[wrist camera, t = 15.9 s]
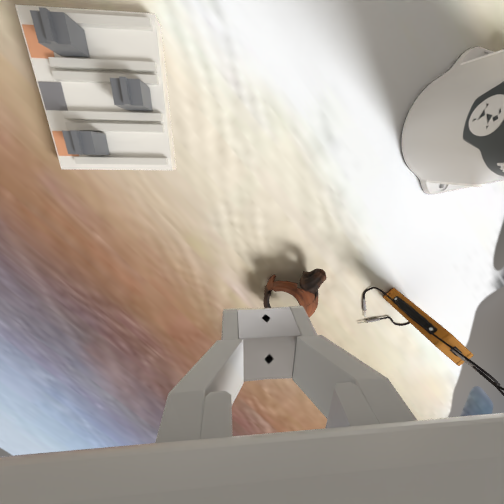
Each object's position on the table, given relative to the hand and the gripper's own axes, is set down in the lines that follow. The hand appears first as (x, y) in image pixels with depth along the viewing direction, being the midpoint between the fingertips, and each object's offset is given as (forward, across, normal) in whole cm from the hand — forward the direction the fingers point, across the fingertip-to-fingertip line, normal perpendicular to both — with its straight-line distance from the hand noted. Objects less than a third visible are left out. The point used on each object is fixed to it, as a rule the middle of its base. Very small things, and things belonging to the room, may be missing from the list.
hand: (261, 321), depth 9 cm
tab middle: (+26, +12, -12) cm, 31 cm away
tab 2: (+26, +18, -7) cm, 33 cm away
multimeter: (+29, -29, +23) cm, 47 cm away
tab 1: (+26, +18, -17) cm, 36 cm away
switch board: (+29, +16, -12) cm, 35 cm away
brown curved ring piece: (+29, -10, +16) cm, 35 cm away
